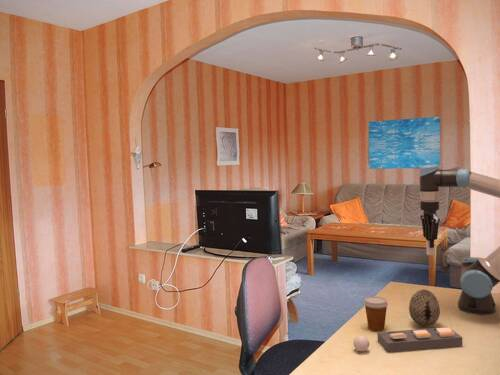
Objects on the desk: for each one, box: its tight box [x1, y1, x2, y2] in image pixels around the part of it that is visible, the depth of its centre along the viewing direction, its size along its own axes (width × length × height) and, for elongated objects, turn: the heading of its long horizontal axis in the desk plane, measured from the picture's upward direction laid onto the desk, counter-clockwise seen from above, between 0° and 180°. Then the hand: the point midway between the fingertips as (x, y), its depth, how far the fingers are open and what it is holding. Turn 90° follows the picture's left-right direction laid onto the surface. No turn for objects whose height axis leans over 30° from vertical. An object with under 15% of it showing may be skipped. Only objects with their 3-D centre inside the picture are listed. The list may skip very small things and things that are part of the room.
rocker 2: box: [435, 326, 455, 337], centre depth 163 cm, size 5×4×1 cm
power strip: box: [376, 326, 463, 354], centre depth 164 cm, size 28×10×4 cm, turn 95°
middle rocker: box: [413, 330, 431, 338], centre depth 162 cm, size 5×4×1 cm
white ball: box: [353, 335, 370, 353], centre depth 162 cm, size 8×6×6 cm
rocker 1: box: [389, 333, 407, 339], centre depth 161 cm, size 5×4×1 cm
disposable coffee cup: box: [363, 296, 389, 332], centre depth 180 cm, size 10×10×12 cm
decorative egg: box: [408, 289, 441, 328], centre depth 181 cm, size 12×12×15 cm
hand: (430, 254), depth 192 cm, fingers closed
